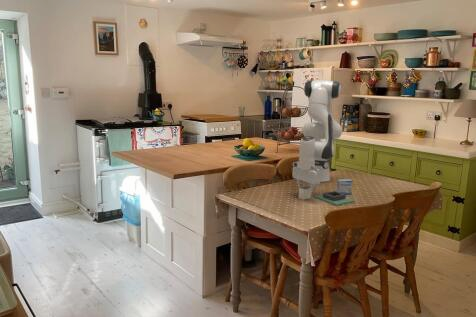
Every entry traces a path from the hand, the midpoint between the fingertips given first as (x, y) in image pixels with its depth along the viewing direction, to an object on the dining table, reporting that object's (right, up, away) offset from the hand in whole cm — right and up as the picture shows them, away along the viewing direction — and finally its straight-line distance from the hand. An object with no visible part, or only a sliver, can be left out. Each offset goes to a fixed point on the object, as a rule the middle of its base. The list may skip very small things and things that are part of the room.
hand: (305, 189), depth 223 cm
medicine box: (+25, -4, +11) cm, 27 cm away
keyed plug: (0, -5, +2) cm, 6 cm away
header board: (+16, -6, -2) cm, 17 cm away
